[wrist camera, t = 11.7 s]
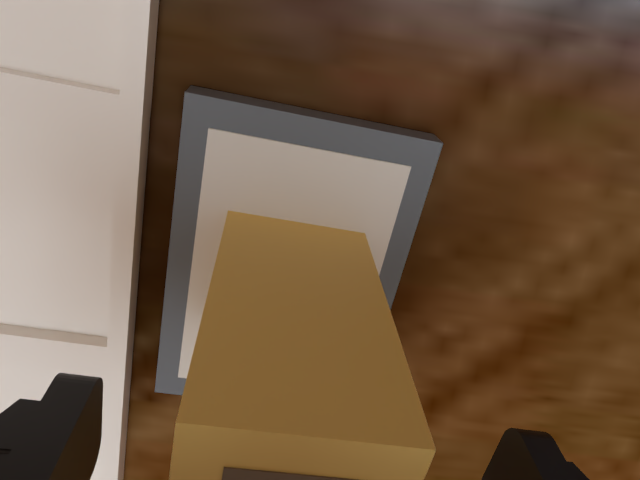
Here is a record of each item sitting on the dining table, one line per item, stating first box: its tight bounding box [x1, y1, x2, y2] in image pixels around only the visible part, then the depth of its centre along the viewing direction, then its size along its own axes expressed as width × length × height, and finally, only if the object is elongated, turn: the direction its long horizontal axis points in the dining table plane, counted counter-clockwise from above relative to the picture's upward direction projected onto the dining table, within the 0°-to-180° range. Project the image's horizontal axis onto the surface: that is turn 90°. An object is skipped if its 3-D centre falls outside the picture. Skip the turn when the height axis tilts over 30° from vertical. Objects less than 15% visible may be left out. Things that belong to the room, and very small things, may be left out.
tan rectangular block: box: [169, 210, 436, 480], centre depth 12 cm, size 4×4×8 cm
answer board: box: [155, 85, 443, 395], centre depth 16 cm, size 10×7×1 cm
